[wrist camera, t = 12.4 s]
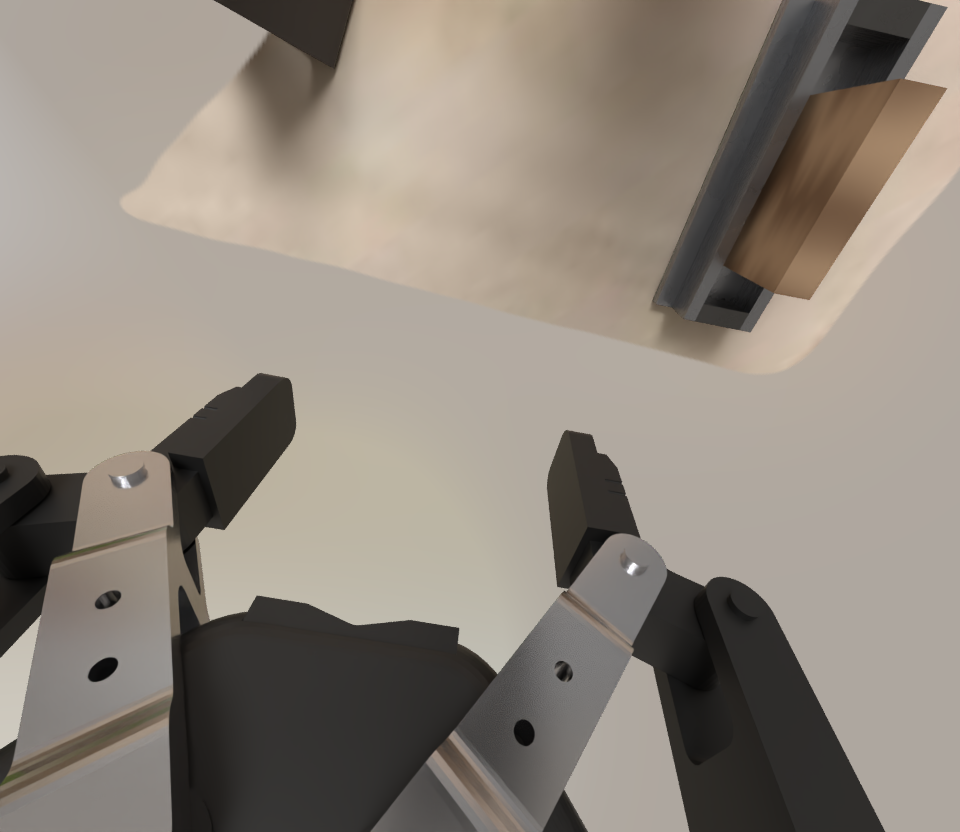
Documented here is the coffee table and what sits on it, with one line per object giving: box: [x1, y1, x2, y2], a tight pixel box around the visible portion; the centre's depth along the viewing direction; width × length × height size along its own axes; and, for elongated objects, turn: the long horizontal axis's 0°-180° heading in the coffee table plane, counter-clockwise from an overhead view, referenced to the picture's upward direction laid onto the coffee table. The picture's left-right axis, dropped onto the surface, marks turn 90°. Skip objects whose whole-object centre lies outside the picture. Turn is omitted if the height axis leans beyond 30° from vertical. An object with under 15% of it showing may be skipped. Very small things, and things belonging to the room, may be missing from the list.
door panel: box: [723, 78, 947, 300], centre depth 27 cm, size 11×2×9 cm, turn 171°
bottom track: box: [653, 0, 947, 332], centre depth 29 cm, size 20×9×4 cm, turn 170°
